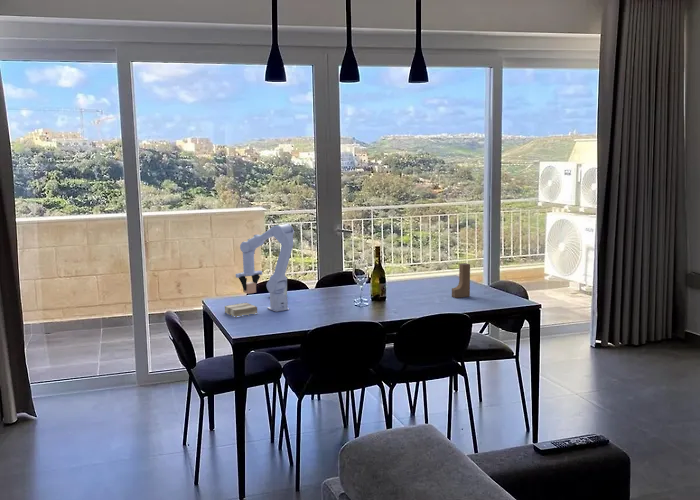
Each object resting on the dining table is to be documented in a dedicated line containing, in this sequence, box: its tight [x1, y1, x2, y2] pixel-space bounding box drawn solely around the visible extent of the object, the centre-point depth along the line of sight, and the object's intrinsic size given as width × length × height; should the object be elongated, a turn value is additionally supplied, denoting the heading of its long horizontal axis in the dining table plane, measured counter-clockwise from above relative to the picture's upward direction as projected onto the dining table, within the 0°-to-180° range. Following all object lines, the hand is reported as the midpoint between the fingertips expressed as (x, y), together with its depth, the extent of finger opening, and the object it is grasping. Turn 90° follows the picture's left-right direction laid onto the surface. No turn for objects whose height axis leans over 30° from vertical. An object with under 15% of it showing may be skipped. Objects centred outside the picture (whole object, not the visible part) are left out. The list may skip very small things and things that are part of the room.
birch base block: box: [224, 302, 258, 318], centre depth 337 cm, size 12×12×4 cm
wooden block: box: [451, 262, 471, 299], centre depth 366 cm, size 9×4×18 cm, turn 108°
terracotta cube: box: [242, 281, 257, 294], centre depth 354 cm, size 5×5×5 cm
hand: (249, 289), depth 354 cm, fingers closed on terracotta cube, 5 cm apart
